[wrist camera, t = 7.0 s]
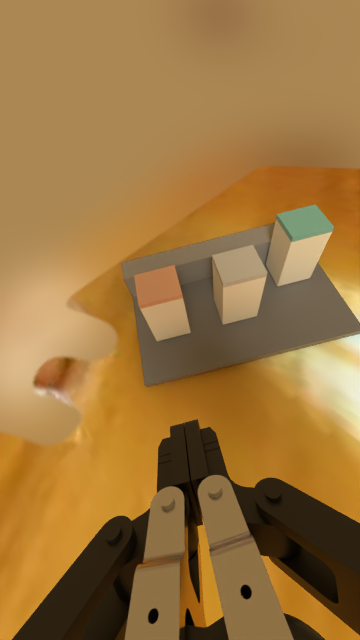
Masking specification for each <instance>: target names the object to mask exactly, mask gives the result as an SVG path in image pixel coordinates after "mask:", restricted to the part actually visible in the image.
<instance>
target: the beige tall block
mask: <svg viewBox="0 0 360 640" xmlns="http://www.w3.org/2000/svg"><path fill="white" fill-rule="evenodd" d="M212 265H213V291H214V301H215V304H216V307H217V310H218V313H219V316H220V319H221V322H222V324H223V325H224V324H228V323H232V322H236V321H240V320H244V319H248V318H251V317H255V316H257V314H258V309H259V305H260V301H261V297H262V293H263V289H264V285H265V281H266V277H267V271H266V269H265V267H264V265H263V263H262V261H261V259H260V257H259V256H258V254H257V252H256V250H255V248H254V246H253V245H250V246H246V247H242V248H238V249H234V250H230V251H226V252H223V253H219V254H215V255H212Z"/></svg>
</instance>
